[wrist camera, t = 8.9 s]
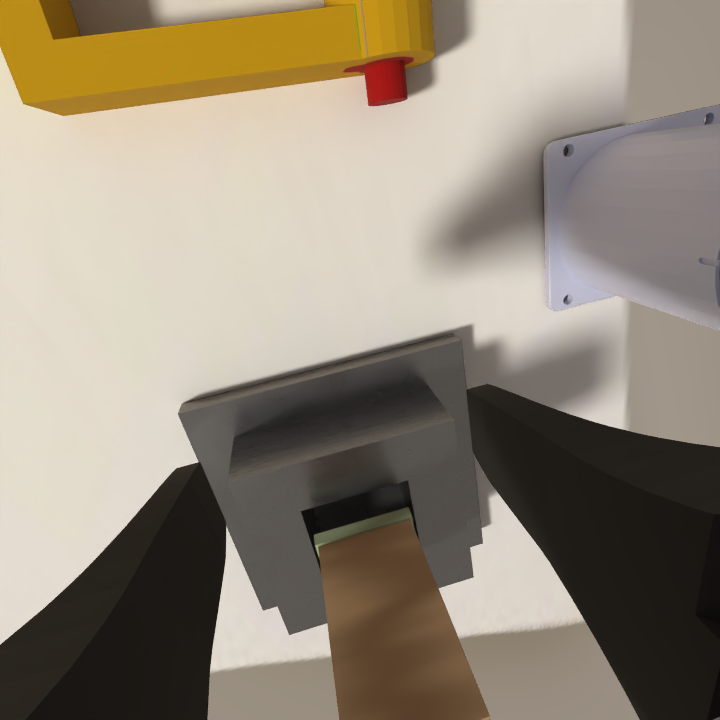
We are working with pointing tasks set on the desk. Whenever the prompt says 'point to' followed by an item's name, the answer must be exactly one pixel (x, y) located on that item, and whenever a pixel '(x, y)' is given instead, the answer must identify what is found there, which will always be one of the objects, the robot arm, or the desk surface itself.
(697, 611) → the robot arm
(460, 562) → the metal sleeve
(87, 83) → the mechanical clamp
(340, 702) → the oak post
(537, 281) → the desk surface
